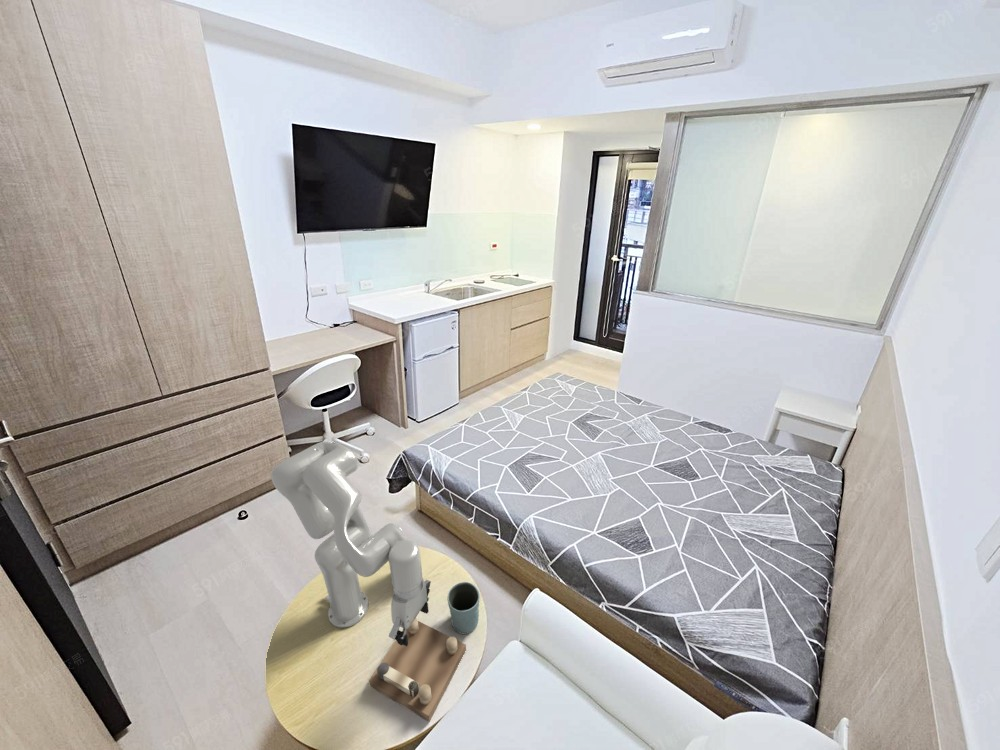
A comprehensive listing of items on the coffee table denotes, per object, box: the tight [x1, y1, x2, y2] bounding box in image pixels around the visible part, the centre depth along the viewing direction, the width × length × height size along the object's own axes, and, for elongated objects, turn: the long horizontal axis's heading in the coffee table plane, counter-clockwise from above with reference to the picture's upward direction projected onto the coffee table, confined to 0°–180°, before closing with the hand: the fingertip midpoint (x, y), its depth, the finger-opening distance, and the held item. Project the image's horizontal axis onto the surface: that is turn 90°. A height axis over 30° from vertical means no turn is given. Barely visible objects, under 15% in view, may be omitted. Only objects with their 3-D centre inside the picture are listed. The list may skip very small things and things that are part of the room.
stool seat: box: [368, 617, 467, 723], centre depth 117 cm, size 20×20×6 cm
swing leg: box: [376, 662, 419, 697], centre depth 112 cm, size 13×3×3 cm, turn 65°
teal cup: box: [446, 581, 480, 635], centre depth 129 cm, size 10×10×12 cm
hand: (413, 626), depth 110 cm, fingers open, 9 cm apart
